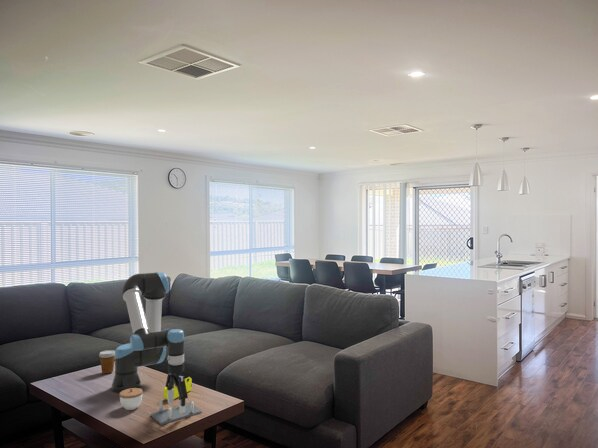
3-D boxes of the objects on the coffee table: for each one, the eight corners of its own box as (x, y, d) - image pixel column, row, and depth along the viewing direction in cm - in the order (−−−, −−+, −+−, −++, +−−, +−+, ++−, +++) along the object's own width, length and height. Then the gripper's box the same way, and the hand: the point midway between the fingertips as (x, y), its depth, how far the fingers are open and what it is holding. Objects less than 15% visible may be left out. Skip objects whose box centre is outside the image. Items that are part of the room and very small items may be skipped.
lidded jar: (129, 414, 214) (128, 394, 214) (114, 409, 220) (114, 390, 220) (147, 406, 223) (147, 387, 223) (133, 401, 229) (133, 383, 229)
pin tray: (150, 415, 212) (150, 402, 212) (190, 404, 224) (190, 392, 224) (161, 425, 202) (161, 411, 202) (202, 413, 214) (201, 400, 214)
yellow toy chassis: (172, 402, 228) (172, 385, 228) (163, 400, 231) (163, 384, 231) (192, 391, 243) (192, 375, 243) (184, 389, 245) (184, 374, 245)
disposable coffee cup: (95, 373, 271) (95, 354, 271) (105, 368, 280) (104, 349, 280) (110, 374, 269) (110, 354, 269) (119, 369, 279) (118, 350, 279)
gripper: (158, 358, 220) (158, 401, 221) (179, 371, 201) (179, 418, 201) (173, 355, 225) (173, 397, 225) (194, 368, 205) (195, 414, 206)
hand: (176, 407), depth 213 cm, fingers open, 13 cm apart
